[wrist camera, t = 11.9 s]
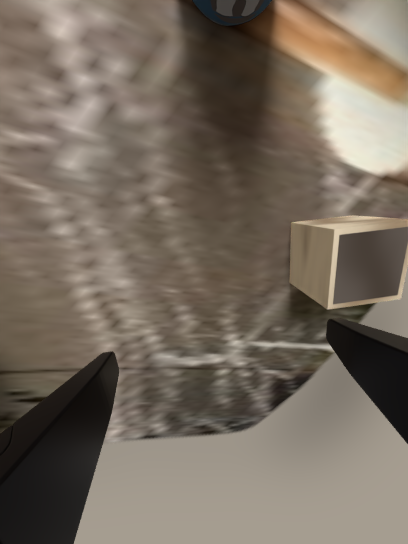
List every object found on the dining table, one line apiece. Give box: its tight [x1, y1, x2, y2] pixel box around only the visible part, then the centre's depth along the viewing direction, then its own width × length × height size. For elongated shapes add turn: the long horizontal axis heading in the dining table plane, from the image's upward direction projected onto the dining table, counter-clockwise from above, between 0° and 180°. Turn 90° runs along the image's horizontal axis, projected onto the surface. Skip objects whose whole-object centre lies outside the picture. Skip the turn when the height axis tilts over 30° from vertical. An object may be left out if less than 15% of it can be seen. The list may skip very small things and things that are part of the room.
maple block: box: [290, 216, 408, 310], centre depth 18 cm, size 6×6×6 cm
